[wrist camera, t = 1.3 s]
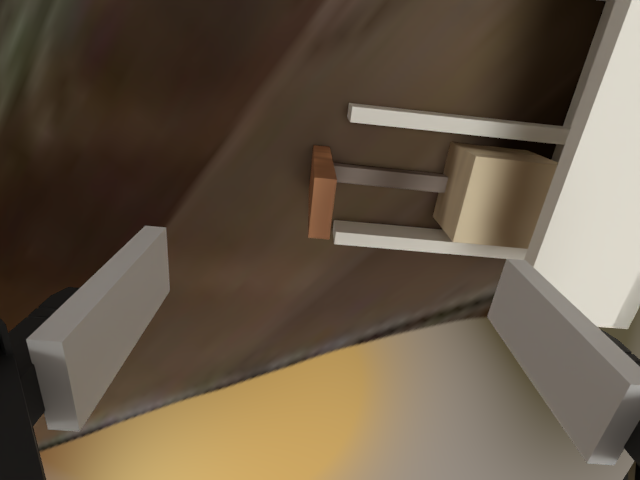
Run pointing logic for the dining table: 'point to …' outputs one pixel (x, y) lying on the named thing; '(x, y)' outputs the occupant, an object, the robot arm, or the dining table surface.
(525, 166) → the birch block
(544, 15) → the dining table surface
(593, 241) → the lane rack
